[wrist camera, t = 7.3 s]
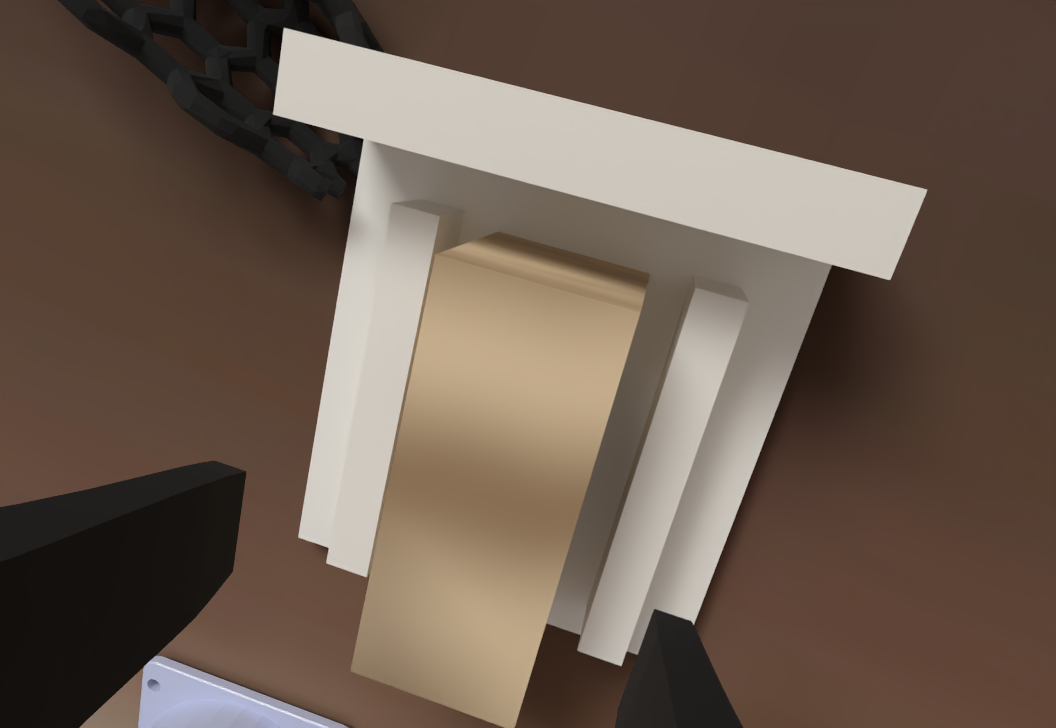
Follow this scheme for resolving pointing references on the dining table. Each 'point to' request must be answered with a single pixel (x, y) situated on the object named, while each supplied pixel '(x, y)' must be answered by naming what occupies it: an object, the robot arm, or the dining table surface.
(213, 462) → the robot arm
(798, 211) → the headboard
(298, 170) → the decorative element
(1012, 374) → the dining table surface
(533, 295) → the tan block
